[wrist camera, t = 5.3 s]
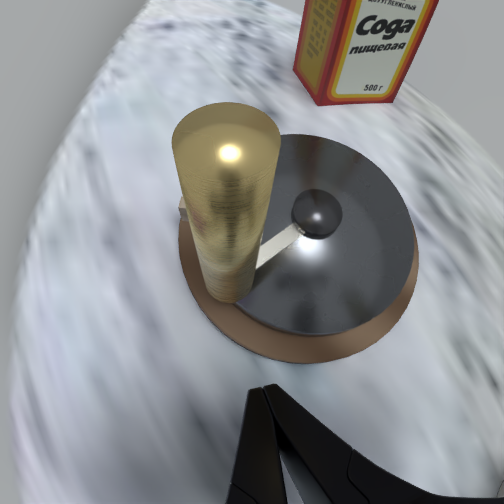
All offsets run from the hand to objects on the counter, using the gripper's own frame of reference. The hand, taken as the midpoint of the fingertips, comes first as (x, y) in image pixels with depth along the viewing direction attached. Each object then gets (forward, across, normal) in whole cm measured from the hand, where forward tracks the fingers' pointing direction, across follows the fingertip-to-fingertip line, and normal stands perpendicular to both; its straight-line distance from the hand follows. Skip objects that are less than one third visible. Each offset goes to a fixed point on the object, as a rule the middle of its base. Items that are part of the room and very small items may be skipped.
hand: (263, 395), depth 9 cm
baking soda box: (+25, -16, -11) cm, 32 cm away
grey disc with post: (+12, -6, 0) cm, 13 cm away
